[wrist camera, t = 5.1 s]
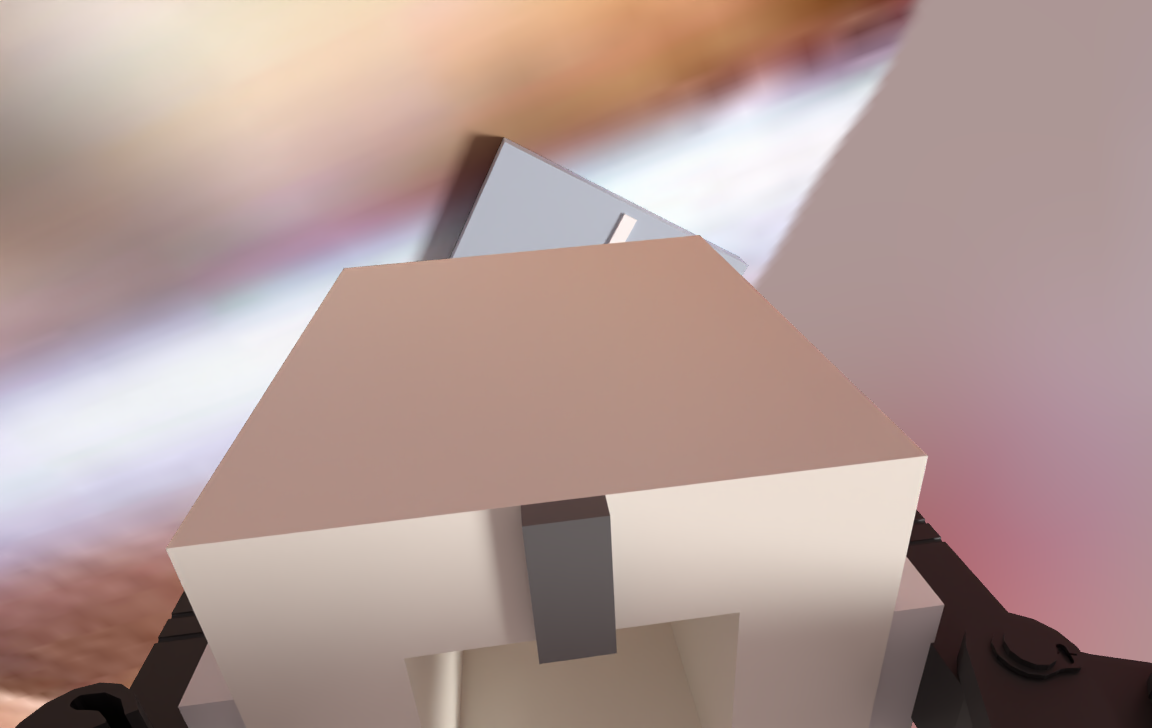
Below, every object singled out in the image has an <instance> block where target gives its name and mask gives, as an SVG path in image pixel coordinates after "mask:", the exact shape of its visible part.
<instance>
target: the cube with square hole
mask: <svg viewBox="0 0 1152 728" xmlns="http://www.w3.org/2000/svg"><path fill="white" fill-rule="evenodd" d="M927 458H928V455H927V454H926V453H925V452H923V451H922V450H921V449H920V447H918V446H917V445H916V444H915V443H914V442H913V441H912V440H911V439H910V438H909V437H908V436H907V435H906V434H905V433H904V432H903V431H902V430H901V429H900V428H899V427H898V426H897V425H896V424H895V423H894V422H893V421H892V420H890V419H889V418H888V417H887V416H886V415H885V414H884V413H883V412H882V411H881V410H880V409H879V408H878V407H877V406H876V405H875V404H874V403H873V402H872V401H871V400H870V399H869V398H868V397H867V396H866V395H865V394H864V393H863V392H862V391H860V390H859V389H858V388H857V387H856V386H855V385H854V384H853V383H852V382H851V381H850V380H849V379H848V378H847V377H846V376H845V375H844V374H843V373H842V372H841V371H840V370H839V369H838V368H837V367H836V366H835V365H834V364H832V363H831V362H830V361H829V360H828V359H827V358H826V357H825V356H824V355H823V354H822V353H821V352H820V351H819V350H818V349H817V348H816V347H815V346H814V345H813V344H812V343H811V342H810V341H809V340H808V339H807V338H806V337H805V336H804V335H802V334H801V333H800V332H799V331H798V330H797V329H796V328H795V327H794V326H793V325H792V324H791V323H790V322H789V321H788V320H787V319H786V318H785V317H784V316H783V315H782V314H781V313H780V312H779V311H778V310H777V309H776V308H775V307H773V306H772V305H771V304H770V303H769V302H768V301H767V300H766V299H765V298H764V297H763V296H762V295H761V294H760V293H759V292H758V291H757V290H756V289H755V288H754V287H753V286H752V285H751V284H750V283H749V282H748V281H747V280H746V279H744V278H743V277H742V276H741V275H740V274H739V273H738V272H737V271H736V270H735V269H734V268H733V267H732V266H731V265H730V264H729V263H728V262H727V261H726V260H725V259H724V258H723V257H722V256H721V255H720V254H719V253H718V252H717V251H715V250H714V249H713V248H712V247H711V246H710V245H709V244H708V243H707V242H706V241H705V240H704V239H703V238H702V237H701V236H700V235H695V236H685V237H674V238H663V239H652V240H642V241H631V242H620V243H610V244H599V245H588V246H578V247H567V248H556V249H546V250H535V251H524V252H514V253H503V254H492V255H482V256H471V257H460V258H449V259H439V260H428V261H417V262H407V263H396V264H385V265H375V266H364V267H353V268H344V269H343V270H342V272H341V274H340V275H339V277H338V278H337V280H336V281H335V283H334V285H333V286H332V288H331V289H330V291H329V292H328V294H327V296H326V297H325V299H324V300H323V302H322V303H321V305H320V307H319V308H318V310H317V311H316V313H315V314H314V316H313V318H312V319H311V321H310V322H309V324H308V325H307V327H306V329H305V330H304V332H303V333H302V335H301V337H300V338H299V340H298V341H297V343H296V344H295V346H294V348H293V349H292V351H291V352H290V354H289V355H288V357H287V359H286V360H285V362H284V363H283V365H282V366H281V368H280V370H279V371H278V373H277V374H276V376H275V377H274V379H273V381H272V382H271V384H270V385H269V387H268V388H267V390H266V392H265V393H264V395H263V396H262V398H261V399H260V401H259V403H258V404H257V406H256V407H255V409H254V410H253V412H252V414H251V415H250V417H249V418H248V420H247V421H246V423H245V425H244V426H243V428H242V429H241V431H240V432H239V434H238V436H237V437H236V439H235V440H234V442H233V444H232V445H231V447H230V448H229V450H228V451H227V453H226V455H225V456H224V458H223V459H222V461H221V462H220V464H219V466H218V467H217V469H216V470H215V472H214V473H213V475H212V477H211V478H210V480H209V481H208V483H207V484H206V486H205V488H204V489H203V491H202V492H201V494H200V495H199V497H198V499H197V500H196V502H195V503H194V505H193V506H192V508H191V510H190V511H189V513H188V514H187V516H186V517H185V519H184V521H183V522H182V524H181V525H180V527H179V528H178V530H177V532H176V533H175V535H174V536H173V538H172V539H171V541H170V543H169V544H168V546H167V547H166V550H167V553H168V555H169V557H170V559H171V561H172V564H173V566H174V568H175V570H176V573H177V575H178V577H179V579H180V581H181V584H182V586H183V588H184V590H185V593H186V595H187V597H188V599H189V601H190V604H191V606H192V608H193V610H194V613H195V615H196V617H197V619H198V621H199V624H200V626H201V628H202V630H203V633H204V635H205V637H206V639H207V641H208V644H209V646H210V648H211V650H212V653H213V655H214V657H215V659H216V661H217V664H218V666H219V668H220V670H221V673H222V675H223V677H224V679H225V681H226V684H227V686H228V688H229V690H230V693H231V695H232V697H233V699H234V701H235V704H236V706H237V708H238V710H239V713H240V715H241V717H242V719H243V721H244V724H245V726H246V728H869V724H870V719H871V715H872V710H873V706H874V701H875V696H876V692H877V687H878V683H879V678H880V674H881V669H882V664H883V660H884V655H885V651H886V646H887V641H888V637H889V632H890V628H891V623H892V619H893V614H894V609H895V605H896V600H897V596H898V591H899V586H900V582H901V577H902V573H903V568H904V563H905V559H906V554H907V550H908V545H909V541H910V536H911V531H912V527H913V522H914V518H915V513H916V508H917V504H918V499H919V494H920V490H921V485H922V481H923V476H924V472H925V467H926V462H927Z"/></svg>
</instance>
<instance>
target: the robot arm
mask: <svg viewBox="0 0 1152 728" xmlns="http://www.w3.org/2000/svg"><path fill="white" fill-rule="evenodd" d="M158 638H159V641H158V643H155V644H154V646H153V648H152V650H151V651H150V653H149V655H148V657H147V659H146V660H145V662H144V664H143V666H142V668H141V669H140V671H139V673H138V675H137V677H136V678H135V680H134V682H133V684H132V686H131V687H130V689H128V688H126V687H125V686H123V685H122V684H113V683H97V684H93V685H89V686H85V687H81V688H77V689H74V690H72V691H70V692H68V693H66V694H64V695H62V696H60V697H58V698H56V699H54V700H52V701H50V702H48V703H46V704H44V705H43V706H42V707H40V708H39V709H38V710H36V711H35V712H34V713H32V714H31V715H30V716H28V717H27V718H26V719H24V720H23V721H22V722H20V723H19V724H18V725H17V726H16V727H15V728H246V726H245V724H244V721H243V719H242V717H241V715H240V713H239V710H238V708H237V706H236V704H235V701H234V699H233V697H232V695H231V693H230V690H229V688H228V686H227V684H226V681H225V679H224V677H223V675H222V673H221V670H220V668H219V666H218V664H217V661H216V659H215V657H214V655H213V653H212V650H211V648H210V646H209V644H208V641H207V639H206V637H205V635H204V633H203V630H202V628H201V626H200V624H199V621H198V619H197V617H196V615H195V613H194V610H193V608H192V606H191V604H190V601H189V599H188V597H187V595H186V593H185V590H184V592H183V594H182V596H181V597H180V599H179V601H178V603H177V605H176V606H175V608H174V610H173V612H172V618H171V619H168V621H167V623H166V624H165V626H164V628H163V630H162V632H161V633H160V635H159V637H158ZM912 722H914V723H915V725H916V727H917V728H1152V663H1148V662H1142V661H1134V660H1127V659H1120V658H1113V657H1106V656H1099V655H1092V654H1088V653H1083V652H1080V650H1079V649H1078V648H1077V647H1076V646H1075V645H1074V644H1073V643H1071V642H1070V641H1069V640H1068V639H1066V638H1065V637H1064V636H1063V635H1062V634H1060V633H1059V632H1058V631H1056V630H1054V629H1052V628H1050V627H1048V626H1046V625H1044V624H1042V623H1040V622H1038V621H1036V620H1034V619H1031V618H1027V617H1024V616H1020V615H1016V614H1012V613H1008V612H1007V611H1006V610H1005V608H1003V606H1002V605H1001V604H1000V603H999V602H998V601H997V600H996V599H995V597H994V596H993V595H992V594H991V593H990V592H989V590H988V589H987V588H986V587H985V586H984V585H983V584H982V583H981V582H980V580H979V579H978V578H977V577H976V576H975V575H974V574H973V573H972V571H971V570H970V569H969V568H968V567H967V566H966V565H965V564H964V562H963V561H962V560H961V559H960V558H959V557H958V556H957V555H956V553H955V552H954V551H953V550H952V549H951V548H950V547H949V546H948V544H947V543H946V542H942V541H941V537H940V536H939V534H938V533H937V532H936V531H935V530H934V529H933V528H932V527H931V525H930V524H929V523H927V524H926V523H925V519H924V518H923V517H922V515H921V514H920V513H919V512H918V511H917V510H916V513H915V518H914V522H913V527H912V531H911V536H910V541H909V545H908V550H907V554H906V559H905V563H904V568H903V573H902V577H901V582H900V586H899V591H898V596H897V600H896V605H895V609H894V614H893V619H892V623H891V628H890V632H889V637H888V641H887V646H886V651H885V655H884V660H883V664H882V669H881V674H880V678H879V683H878V687H877V692H876V696H875V701H874V706H873V710H872V715H871V719H870V724H869V728H911V726H912Z"/></svg>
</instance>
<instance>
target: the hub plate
mask: <svg viewBox="0 0 1152 728" xmlns="http://www.w3.org/2000/svg"><path fill="white" fill-rule="evenodd" d="M685 236H695V234H693V233H691V232H689V231H687V230H685V229H683V228H681V227H679V226H677V225H675V224H673V223H671V222H669V221H667V220H665V219H663V218H662V217H660V216H658V215H656V214H654V213H652V212H650V211H648V210H646V209H644V208H642V207H640V206H638V205H636V204H634V203H632V202H630V201H628V200H626V199H624V198H622V197H620V196H618V195H616V194H614V193H612V192H610V191H608V190H606V189H605V188H603V187H601V186H599V185H597V184H595V183H593V182H591V181H589V180H587V179H585V178H583V177H581V176H579V175H577V174H575V173H573V172H571V171H569V170H567V169H565V168H563V167H561V166H559V165H557V164H555V163H553V162H551V161H550V160H548V159H546V158H544V157H542V156H540V155H538V154H536V153H534V152H532V151H530V150H528V149H526V148H524V147H522V146H520V145H518V144H516V143H514V142H512V141H510V140H508V139H506V138H503V140H502V142H501V145H500V147H499V149H498V151H497V154H496V156H495V158H494V160H493V163H492V165H491V167H490V169H489V172H488V174H487V176H486V178H485V180H484V183H483V185H482V187H481V189H480V192H479V194H478V196H477V198H476V201H475V203H474V205H473V207H472V210H471V212H470V214H469V216H468V219H467V221H466V223H465V225H464V228H463V230H462V232H461V234H460V236H459V239H458V241H457V243H456V245H455V248H454V250H453V252H452V254H451V257H450V258H460V257H471V256H482V255H492V254H503V253H514V252H524V251H535V250H546V249H556V248H567V247H578V246H588V245H599V244H610V243H620V242H631V241H642V240H652V239H663V238H674V237H685ZM704 240H705V239H704ZM705 241H706V242H707V243H708V244H709V245H710V246H711V247H712V248H713V249H714V250H715V251H717V252H718V253H719V254H720V255H721V256H722V257H723V258H724V259H725V260H726V261H727V262H728V263H729V264H730V265H731V266H732V267H733V268H734V269H735V270H736V271H737V272H738V273H739V274H740V275H741V276H742V275H743V274H744V272H745V270H746V269H747V267H748V266H749V265H747V264H746V263H745V262H744V261H743V260H742V259H741V258H740V257H738V256H736V255H734V254H732V253H730V252H728V251H726V250H724V249H722V248H720V247H718V246H717V245H715V244H713V243H711V242H709V241H707V240H705Z"/></svg>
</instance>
